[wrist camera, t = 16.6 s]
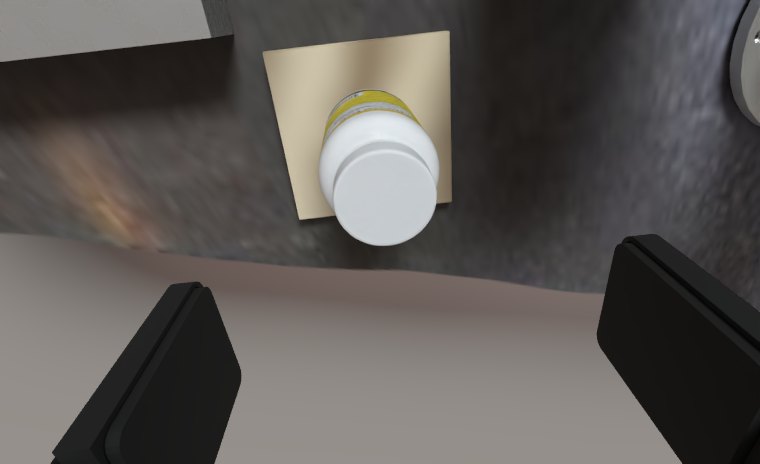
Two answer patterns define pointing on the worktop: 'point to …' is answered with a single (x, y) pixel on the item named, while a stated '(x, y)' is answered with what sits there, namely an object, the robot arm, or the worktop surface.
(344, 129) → the supplement bottle
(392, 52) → the oak board
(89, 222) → the worktop surface
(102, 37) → the socket block
